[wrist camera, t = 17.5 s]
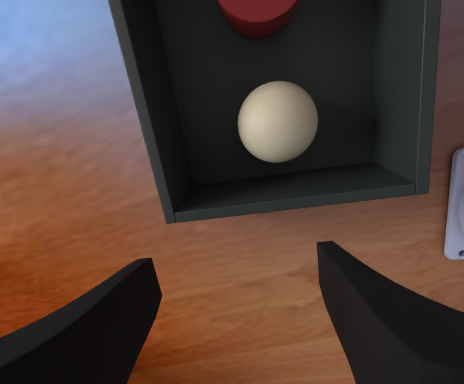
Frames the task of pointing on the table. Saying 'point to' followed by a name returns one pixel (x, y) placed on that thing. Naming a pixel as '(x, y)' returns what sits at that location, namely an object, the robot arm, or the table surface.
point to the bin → (290, 70)
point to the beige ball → (277, 121)
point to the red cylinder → (257, 16)
